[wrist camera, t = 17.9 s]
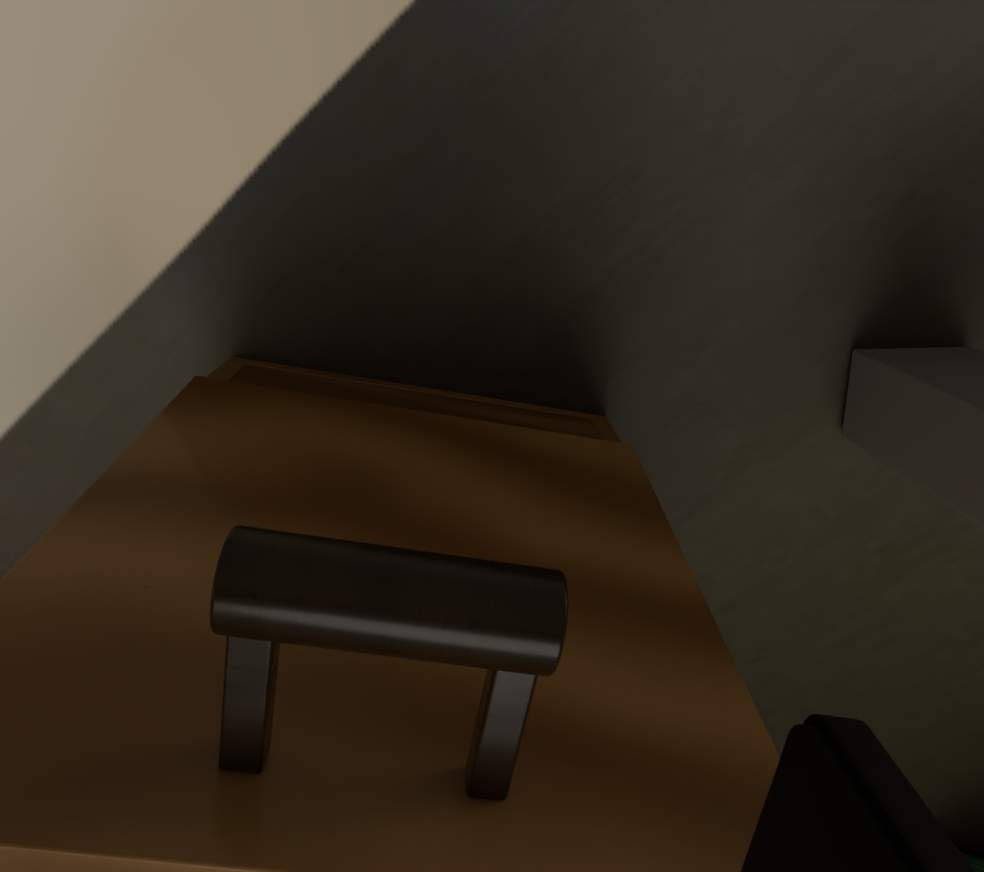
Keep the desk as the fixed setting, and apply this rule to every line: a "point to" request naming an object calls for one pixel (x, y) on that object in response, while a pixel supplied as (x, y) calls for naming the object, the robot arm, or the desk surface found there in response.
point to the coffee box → (975, 862)
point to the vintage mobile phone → (923, 419)
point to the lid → (368, 656)
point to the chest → (414, 398)
